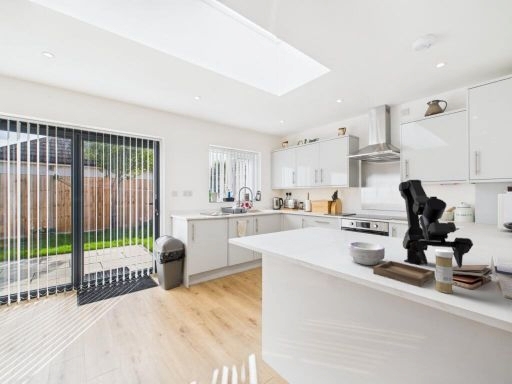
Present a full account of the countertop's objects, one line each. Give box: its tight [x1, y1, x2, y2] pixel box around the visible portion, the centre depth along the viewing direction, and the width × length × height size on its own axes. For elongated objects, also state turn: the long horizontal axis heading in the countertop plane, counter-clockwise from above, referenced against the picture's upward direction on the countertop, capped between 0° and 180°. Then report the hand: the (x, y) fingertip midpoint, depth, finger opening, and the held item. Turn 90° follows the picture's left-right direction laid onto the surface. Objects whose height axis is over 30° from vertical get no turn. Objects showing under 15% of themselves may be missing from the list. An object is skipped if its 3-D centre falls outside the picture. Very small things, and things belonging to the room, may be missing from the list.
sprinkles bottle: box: [434, 248, 454, 294], centre depth 77 cm, size 5×5×14 cm
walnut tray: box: [372, 260, 436, 288], centre depth 91 cm, size 14×16×3 cm
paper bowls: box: [347, 241, 386, 266], centre depth 108 cm, size 15×15×8 cm
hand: (443, 265), depth 77 cm, fingers open, 9 cm apart
